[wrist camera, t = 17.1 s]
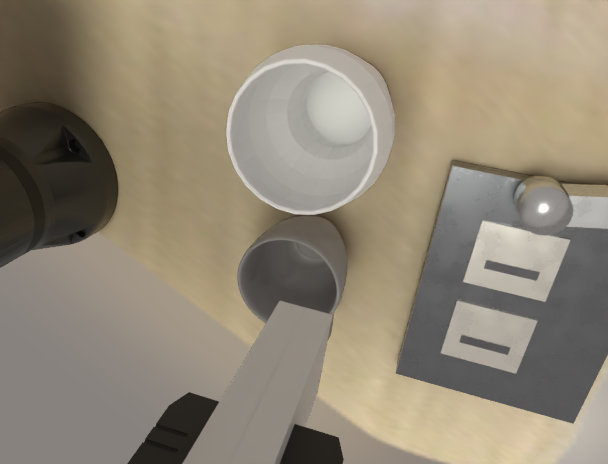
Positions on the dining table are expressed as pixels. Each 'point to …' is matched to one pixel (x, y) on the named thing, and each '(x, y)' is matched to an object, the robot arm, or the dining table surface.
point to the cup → (311, 129)
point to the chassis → (508, 301)
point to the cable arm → (560, 205)
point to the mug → (294, 267)
